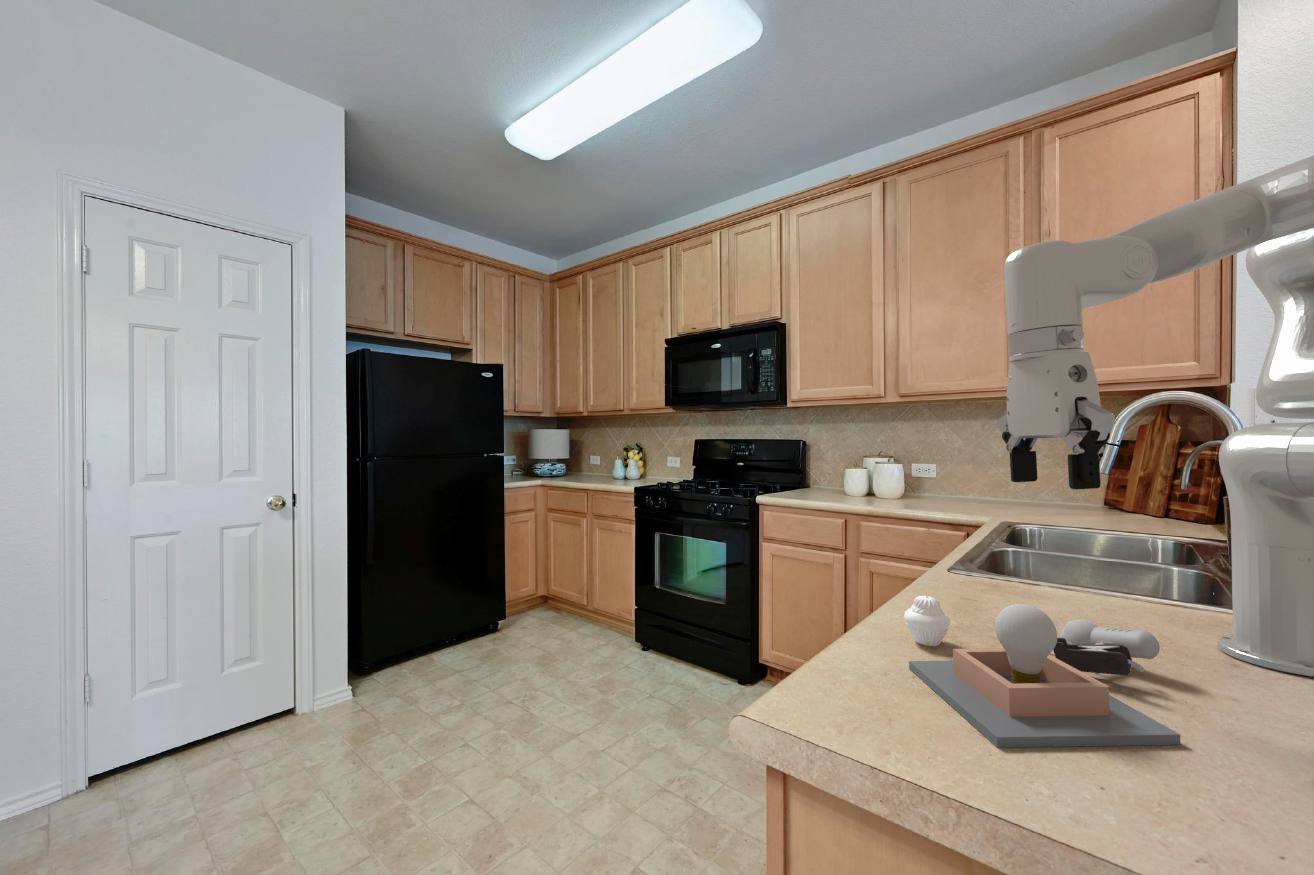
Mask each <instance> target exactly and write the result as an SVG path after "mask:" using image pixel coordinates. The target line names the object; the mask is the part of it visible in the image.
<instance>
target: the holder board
mask: <svg viewBox="0 0 1314 875" xmlns="http://www.w3.org/2000/svg"><path fill="white" fill-rule="evenodd" d="M908 669H909V670H910V671H911V672H912V673H913V674H914V675H915V676H917V678H919V679H920V680H921V681H922V682H924V684H926V685H927V686H928V687H929V688H930V689H931V690H932V691H933V692H934V693H936V694H937V695H938V696H939V697H940V698H941V699H943V701H944V702H946V703H947V704H948V705H949V706H950V707H951V708H953V709H954V711H956V712H957V713H958V714H959V715H961V717H962V718H963V719H965V720H966V721H967V722H968V723H969V724H970V725H972V727H974V728H975V729H976V730H977V731H978V732H979V733H980V734H981V735H983V737H985V738H986V739H987V740H988V741H989V742H990V743H991V744H993V745H994V746H995V747H996V748H1046V747H1047V748H1049V747H1050V748H1051V747H1053V748H1056V747H1059V748H1062V747H1112V746H1113V747H1116V746H1117V747H1118V746H1119V747H1121V746H1175V745H1176V746H1180V745H1181V734H1180V733H1178V732H1177V731H1175V730H1173V729H1171V728H1170V727H1168V726H1166V725H1164V724H1162V723H1160V722H1159V721H1157V720H1156V719H1153V718H1152V717H1150V716H1148V715H1146V714H1144V713H1142V712H1140V711H1139V710H1138V709H1135V708H1134V707H1132V706H1130V705H1129V704H1126V703H1125V702H1123V701H1121V700H1119V699H1117V698H1116V697H1114V696H1113V695H1110V686H1109V685H1107V684H1105V683H1103V682H1101V681H1099V680H1098V679H1095V678H1094V677H1092V676H1090V675H1088V674H1087V673H1086V672H1081V671H1079V670H1077V669H1075V668H1073V667H1072V666H1070V665H1068V664H1066V663H1064V662H1062V661H1061V660H1059V659H1057V658H1056V657H1055V656H1053V655H1052V654H1049V655H1048V656H1047V658H1046V659H1045V662H1044V665H1043V668H1042V670H1041V671H1040V680H1039V681H1040V683H1020V684H1012V674H1011V672H1012V671H1011V665H1010V663H1009V660H1008V656H1007V653H1006V651H1005V649H1004V648H1002V647H1000V648H996V647H995V648H992V647H990V648H953V649H952V660H909V661H908Z"/></svg>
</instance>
